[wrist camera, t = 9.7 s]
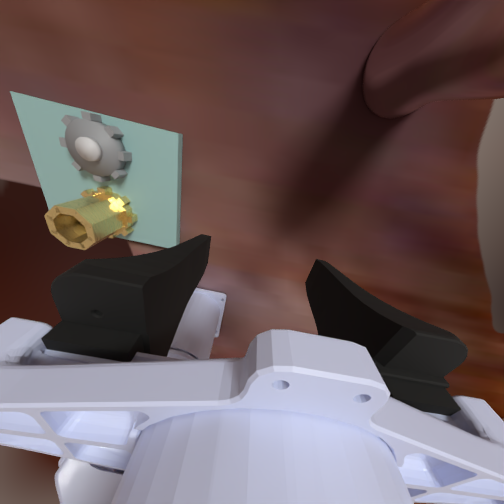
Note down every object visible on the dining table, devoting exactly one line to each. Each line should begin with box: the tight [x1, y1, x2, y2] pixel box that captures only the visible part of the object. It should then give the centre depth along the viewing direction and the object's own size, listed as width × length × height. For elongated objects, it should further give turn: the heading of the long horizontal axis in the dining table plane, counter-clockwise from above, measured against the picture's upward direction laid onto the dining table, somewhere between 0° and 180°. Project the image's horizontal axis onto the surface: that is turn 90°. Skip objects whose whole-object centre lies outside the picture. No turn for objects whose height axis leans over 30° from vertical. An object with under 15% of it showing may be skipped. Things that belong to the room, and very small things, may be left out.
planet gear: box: [44, 186, 138, 250], centre depth 18 cm, size 5×5×5 cm
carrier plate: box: [10, 91, 183, 248], centre depth 18 cm, size 12×14×4 cm
